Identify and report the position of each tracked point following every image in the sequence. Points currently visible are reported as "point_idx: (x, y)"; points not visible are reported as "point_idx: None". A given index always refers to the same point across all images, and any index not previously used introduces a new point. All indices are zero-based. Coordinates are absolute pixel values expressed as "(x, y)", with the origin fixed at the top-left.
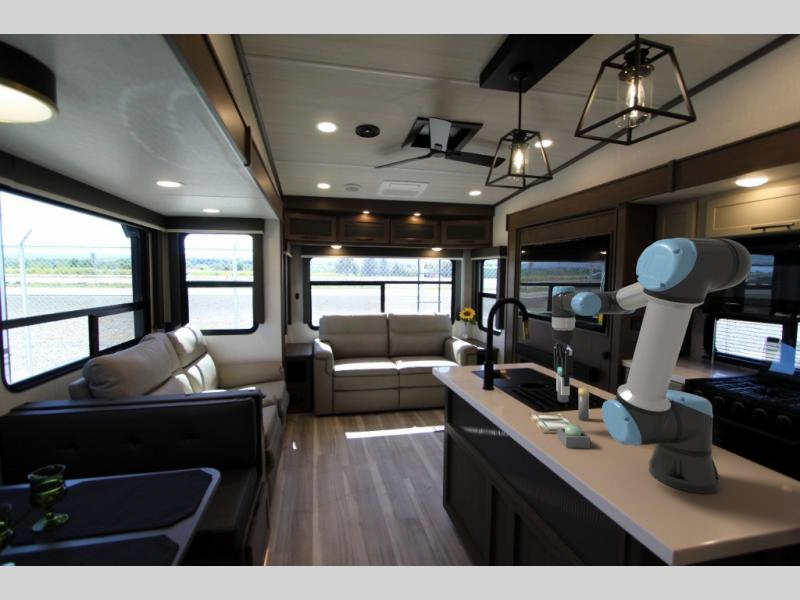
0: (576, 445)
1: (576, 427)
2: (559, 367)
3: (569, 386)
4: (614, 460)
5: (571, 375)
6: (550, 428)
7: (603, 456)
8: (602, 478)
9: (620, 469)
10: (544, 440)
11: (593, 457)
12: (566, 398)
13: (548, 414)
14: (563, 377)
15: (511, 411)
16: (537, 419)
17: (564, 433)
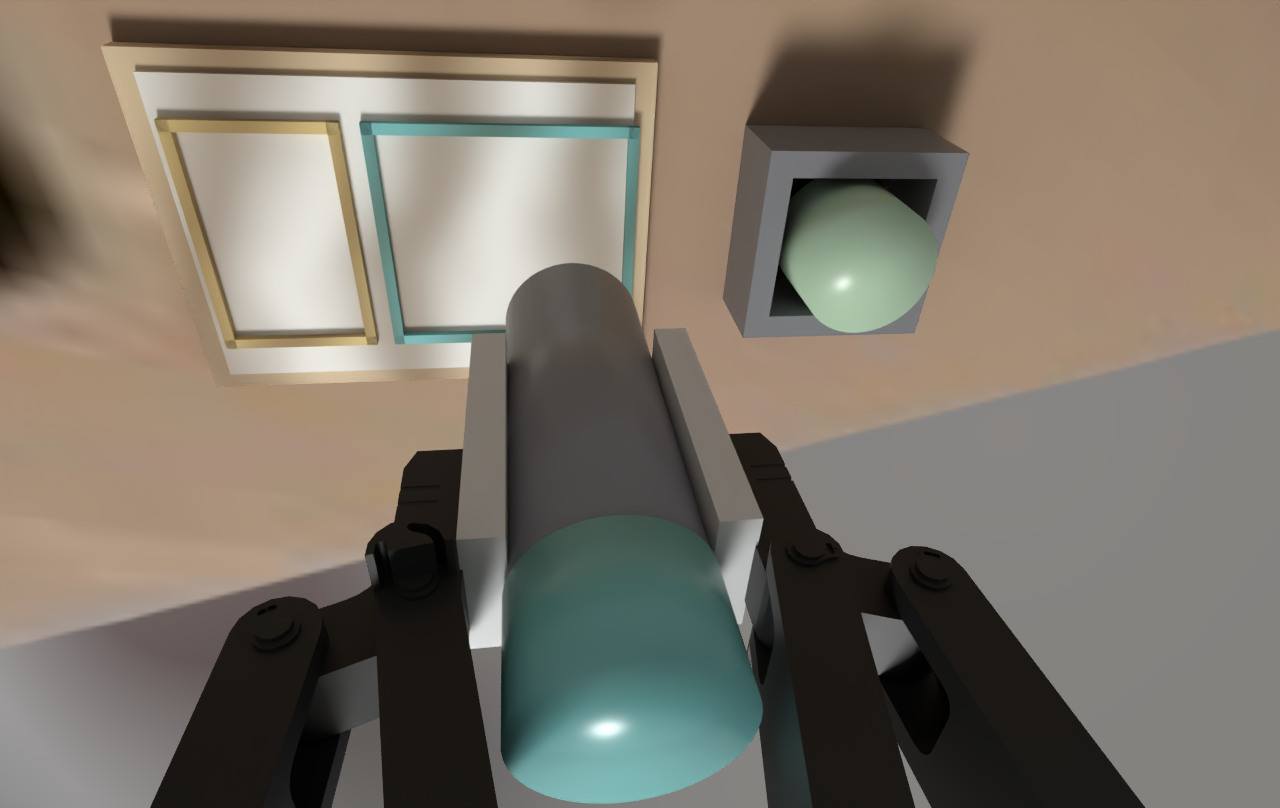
0: None
1: (893, 252)
2: (593, 780)
3: (713, 404)
4: (1139, 40)
5: (954, 590)
6: None
7: (1062, 92)
8: (1249, 246)
9: (1240, 76)
10: (749, 389)
11: (1048, 175)
12: (640, 326)
13: (200, 218)
14: (741, 597)
15: (147, 481)
16: (385, 357)
17: None
